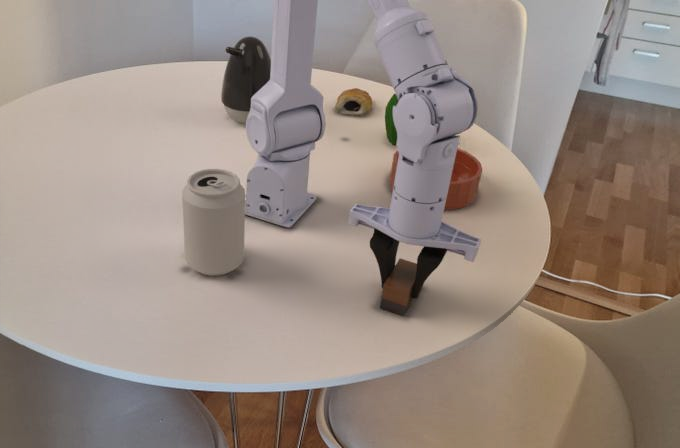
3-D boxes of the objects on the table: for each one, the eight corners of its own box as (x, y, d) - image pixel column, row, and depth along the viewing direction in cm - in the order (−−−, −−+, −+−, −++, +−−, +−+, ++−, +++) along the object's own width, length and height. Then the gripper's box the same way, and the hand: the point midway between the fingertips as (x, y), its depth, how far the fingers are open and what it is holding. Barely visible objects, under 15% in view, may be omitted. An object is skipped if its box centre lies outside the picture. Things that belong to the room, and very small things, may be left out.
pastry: (342, 96, 130) (344, 78, 128) (375, 101, 129) (377, 83, 127) (333, 114, 123) (335, 95, 121) (369, 119, 121) (371, 100, 119)
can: (213, 238, 87) (212, 158, 80) (256, 260, 83) (258, 178, 76) (172, 262, 82) (167, 180, 75) (215, 287, 78) (214, 203, 71)
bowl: (464, 219, 93) (470, 192, 90) (377, 195, 98) (381, 168, 95) (484, 180, 103) (490, 155, 100) (404, 160, 108) (408, 136, 105)
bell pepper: (416, 130, 118) (425, 78, 112) (435, 150, 111) (445, 95, 106) (373, 133, 116) (380, 79, 111) (389, 153, 110) (397, 98, 104)
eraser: (404, 316, 75) (408, 293, 73) (379, 308, 76) (383, 284, 74) (419, 288, 79) (423, 265, 77) (395, 280, 80) (399, 258, 78)
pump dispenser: (209, 116, 120) (207, 35, 111) (251, 103, 126) (253, 25, 117) (245, 135, 113) (246, 50, 105) (287, 120, 119) (291, 39, 111)
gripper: (496, 191, 70) (470, 289, 77) (369, 158, 75) (356, 253, 82) (482, 222, 64) (455, 324, 72) (346, 184, 70) (335, 283, 77)
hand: (401, 288), depth 77 cm, fingers closed on eraser, 3 cm apart
